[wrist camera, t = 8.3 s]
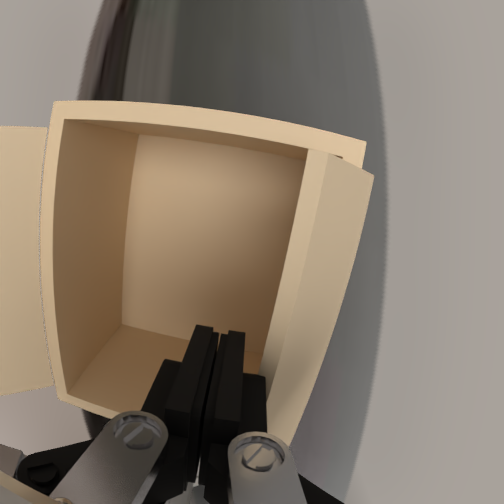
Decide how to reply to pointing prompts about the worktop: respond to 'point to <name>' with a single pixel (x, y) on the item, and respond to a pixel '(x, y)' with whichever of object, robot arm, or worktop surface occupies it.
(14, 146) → the flap
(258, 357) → the carton
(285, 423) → the flap
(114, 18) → the worktop surface
